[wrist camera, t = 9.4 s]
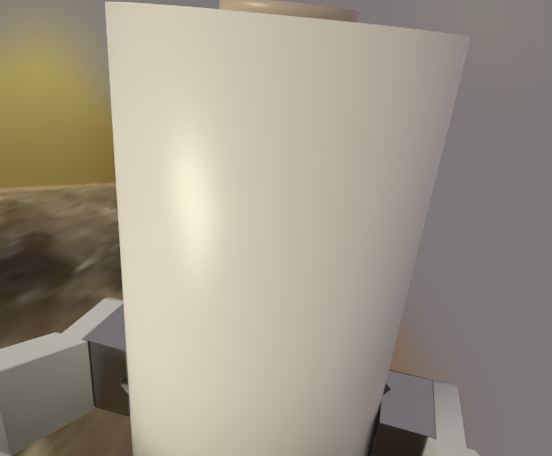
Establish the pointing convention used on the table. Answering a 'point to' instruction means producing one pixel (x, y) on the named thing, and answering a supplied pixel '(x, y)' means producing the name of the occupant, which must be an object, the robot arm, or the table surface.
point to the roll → (269, 217)
